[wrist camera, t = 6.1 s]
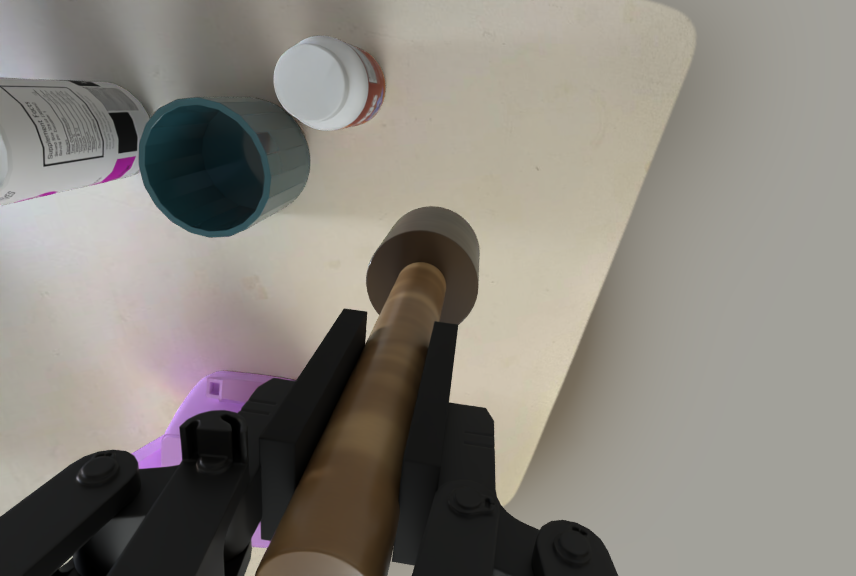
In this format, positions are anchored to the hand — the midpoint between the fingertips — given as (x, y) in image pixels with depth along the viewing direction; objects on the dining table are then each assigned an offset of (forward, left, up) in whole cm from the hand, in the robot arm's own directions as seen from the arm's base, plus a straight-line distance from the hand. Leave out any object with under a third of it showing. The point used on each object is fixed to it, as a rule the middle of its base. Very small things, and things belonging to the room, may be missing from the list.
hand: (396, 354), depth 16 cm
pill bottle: (+5, -11, -31) cm, 33 cm away
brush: (0, 0, -11) cm, 11 cm away
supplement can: (+26, -16, -31) cm, 44 cm away
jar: (+15, -9, -30) cm, 35 cm away
